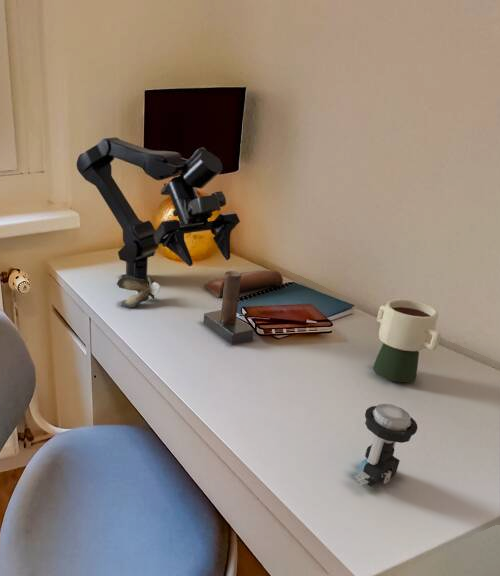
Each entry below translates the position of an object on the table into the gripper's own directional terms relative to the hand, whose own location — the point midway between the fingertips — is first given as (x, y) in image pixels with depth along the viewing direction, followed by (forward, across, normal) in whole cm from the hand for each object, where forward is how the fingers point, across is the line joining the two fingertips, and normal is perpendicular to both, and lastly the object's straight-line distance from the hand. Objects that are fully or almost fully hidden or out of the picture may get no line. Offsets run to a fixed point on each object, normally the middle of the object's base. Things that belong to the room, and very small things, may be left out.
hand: (210, 262), depth 98 cm
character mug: (+32, +16, -14) cm, 38 cm away
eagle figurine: (0, -11, +18) cm, 21 cm away
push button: (+43, -6, -24) cm, 50 cm away
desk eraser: (+15, 0, +3) cm, 15 cm away
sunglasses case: (+2, +17, +16) cm, 24 cm away
